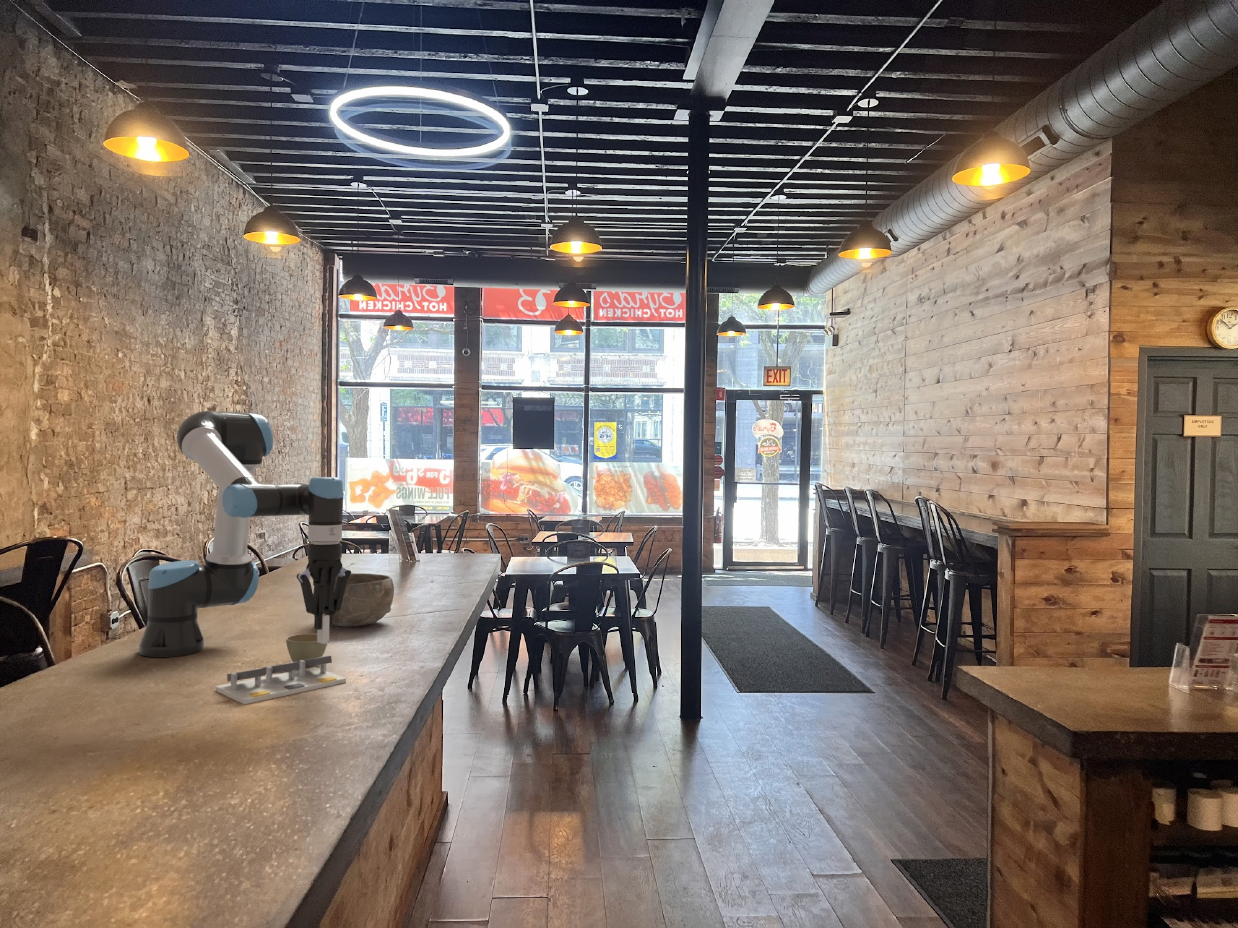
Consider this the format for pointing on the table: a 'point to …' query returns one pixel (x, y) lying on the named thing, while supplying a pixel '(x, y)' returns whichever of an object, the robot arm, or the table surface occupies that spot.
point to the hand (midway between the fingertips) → (322, 642)
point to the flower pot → (304, 647)
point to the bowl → (364, 599)
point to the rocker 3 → (317, 661)
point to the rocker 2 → (284, 667)
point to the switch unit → (279, 683)
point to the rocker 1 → (248, 674)
